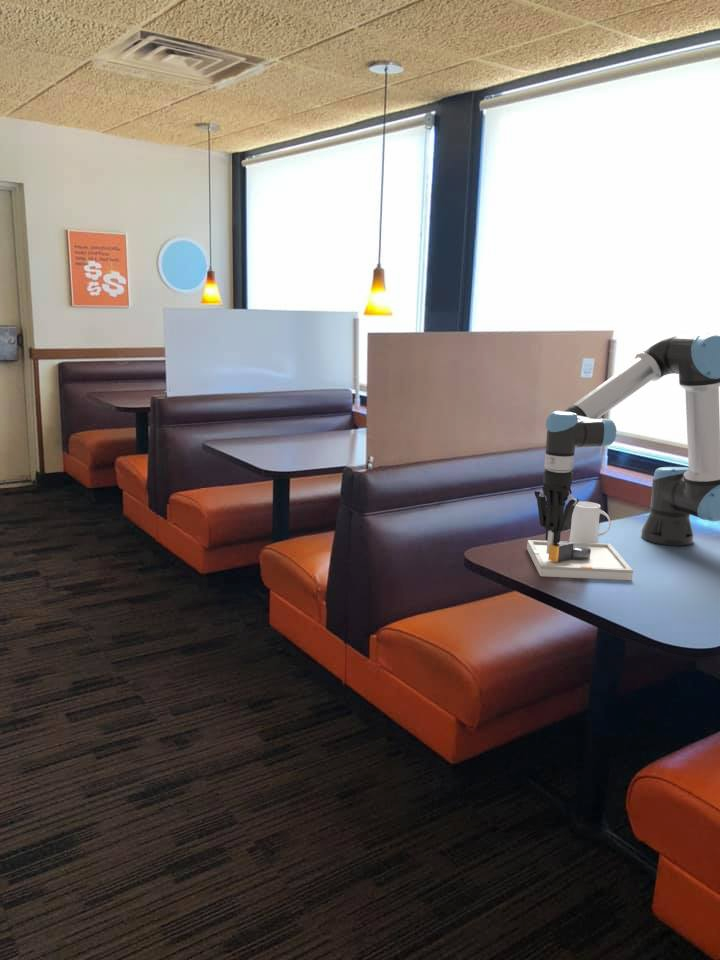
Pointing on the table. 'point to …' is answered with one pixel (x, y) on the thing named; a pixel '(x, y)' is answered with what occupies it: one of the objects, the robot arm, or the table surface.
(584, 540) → the mug
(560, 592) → the table surface
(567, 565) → the white square tray
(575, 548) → the dark grey handled piece
